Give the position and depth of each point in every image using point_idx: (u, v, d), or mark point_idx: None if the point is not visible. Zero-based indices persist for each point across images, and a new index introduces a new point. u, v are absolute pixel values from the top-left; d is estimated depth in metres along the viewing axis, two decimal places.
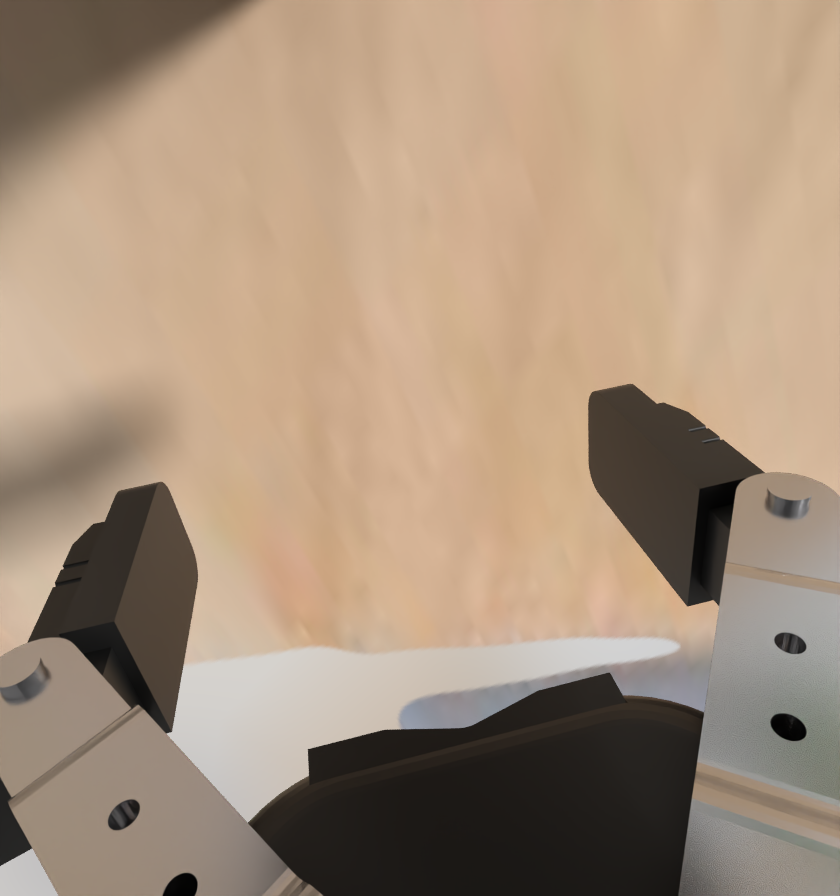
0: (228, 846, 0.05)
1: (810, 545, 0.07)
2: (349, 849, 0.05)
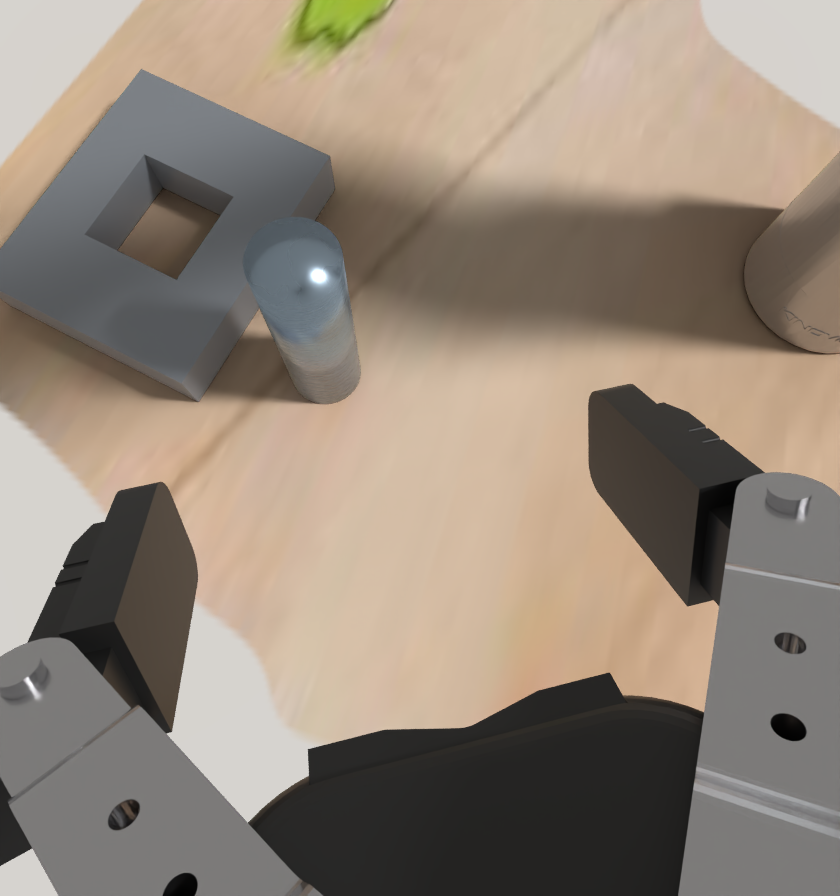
0: (230, 846, 0.05)
1: (810, 545, 0.07)
2: (349, 849, 0.05)
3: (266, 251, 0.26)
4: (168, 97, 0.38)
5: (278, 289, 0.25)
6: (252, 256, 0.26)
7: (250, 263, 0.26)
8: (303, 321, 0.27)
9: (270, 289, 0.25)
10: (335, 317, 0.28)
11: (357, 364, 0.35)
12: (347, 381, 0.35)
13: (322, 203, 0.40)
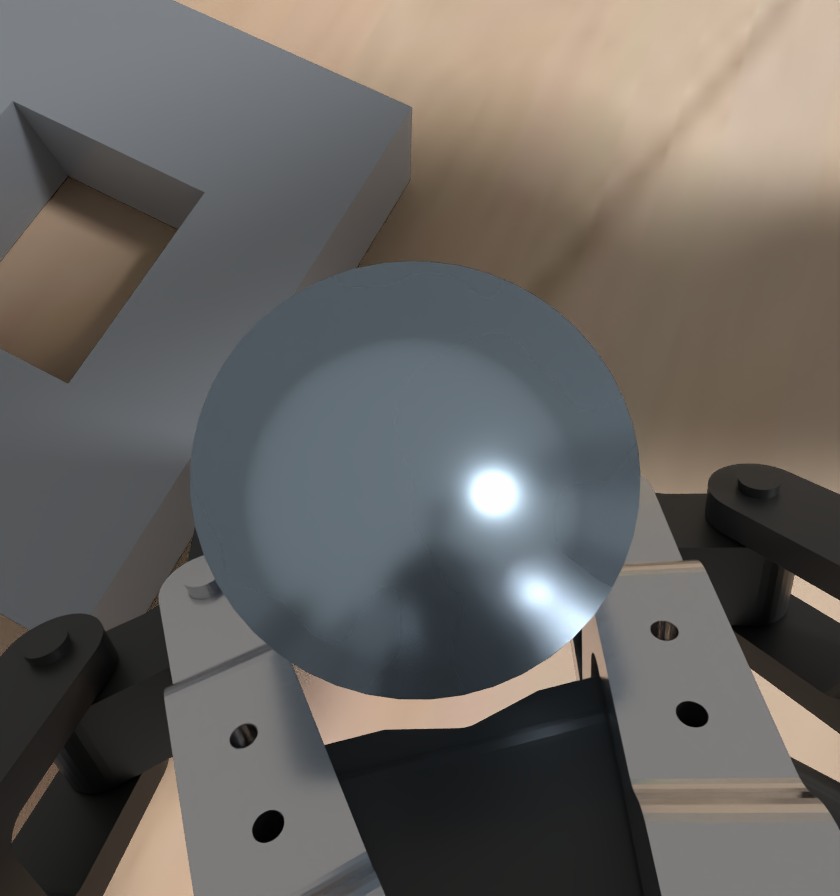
0: (319, 801, 0.05)
1: None
2: None
3: (297, 418, 0.06)
4: None
5: (356, 611, 0.05)
6: (234, 442, 0.06)
7: (224, 477, 0.06)
8: None
9: (318, 611, 0.05)
10: None
11: None
12: None
13: (388, 208, 0.20)
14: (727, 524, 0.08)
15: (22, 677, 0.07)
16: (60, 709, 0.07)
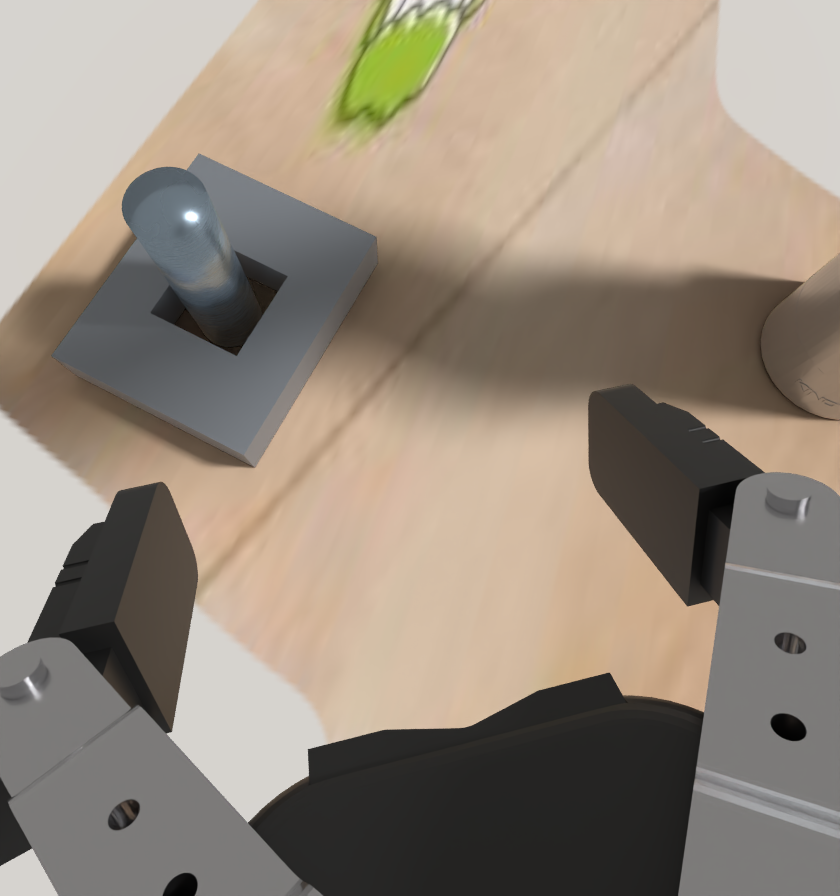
0: (228, 845, 0.05)
1: (810, 545, 0.07)
2: (349, 849, 0.05)
3: (142, 196, 0.30)
4: (224, 180, 0.41)
5: (151, 227, 0.30)
6: (130, 200, 0.30)
7: (128, 206, 0.30)
8: (178, 257, 0.31)
9: (144, 227, 0.30)
10: (209, 254, 0.32)
11: (254, 309, 0.40)
12: (244, 324, 0.40)
13: (367, 277, 0.43)
14: None
15: None
16: None
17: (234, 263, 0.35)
